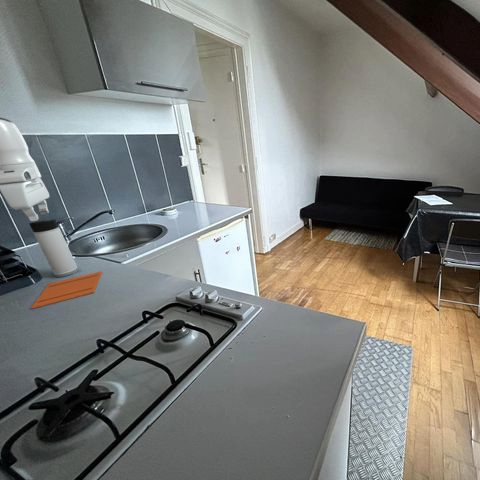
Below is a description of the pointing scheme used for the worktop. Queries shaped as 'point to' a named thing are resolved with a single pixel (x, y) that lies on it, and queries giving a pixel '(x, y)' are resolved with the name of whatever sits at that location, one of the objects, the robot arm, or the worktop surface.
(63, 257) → the travel mug
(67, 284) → the drying mat
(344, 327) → the worktop surface
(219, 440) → the worktop surface
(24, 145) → the robot arm
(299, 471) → the worktop surface
